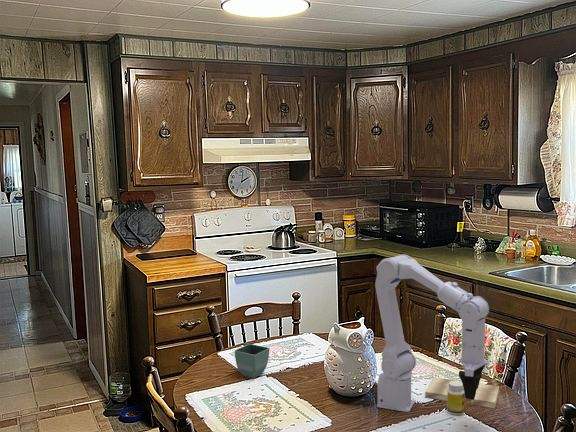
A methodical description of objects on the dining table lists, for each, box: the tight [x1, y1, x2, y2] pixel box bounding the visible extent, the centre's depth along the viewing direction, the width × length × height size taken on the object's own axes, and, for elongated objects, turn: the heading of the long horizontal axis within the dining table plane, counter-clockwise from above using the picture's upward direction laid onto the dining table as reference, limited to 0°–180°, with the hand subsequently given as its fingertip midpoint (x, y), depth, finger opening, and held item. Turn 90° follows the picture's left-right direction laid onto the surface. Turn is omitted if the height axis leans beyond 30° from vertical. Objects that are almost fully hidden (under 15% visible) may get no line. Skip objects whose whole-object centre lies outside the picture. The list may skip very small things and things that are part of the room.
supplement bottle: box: [446, 380, 466, 416], centre depth 168 cm, size 5×5×8 cm
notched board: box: [424, 376, 500, 409], centre depth 180 cm, size 20×13×2 cm, turn 65°
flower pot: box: [233, 343, 270, 379], centre depth 199 cm, size 9×9×9 cm
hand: (471, 393), depth 157 cm, fingers open, 7 cm apart
